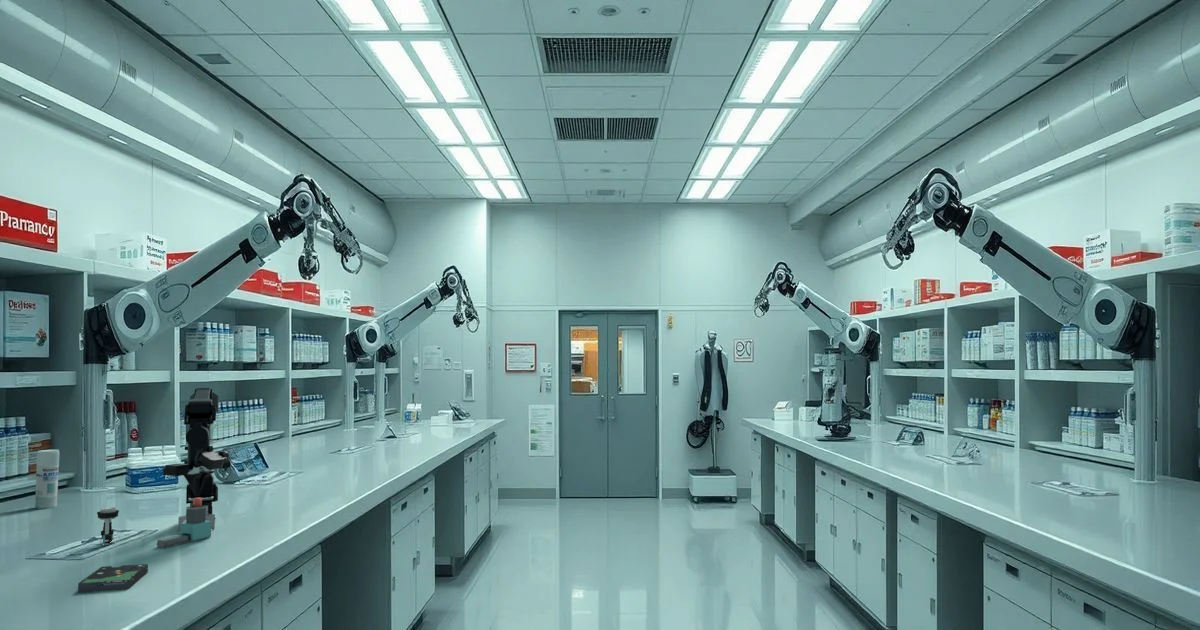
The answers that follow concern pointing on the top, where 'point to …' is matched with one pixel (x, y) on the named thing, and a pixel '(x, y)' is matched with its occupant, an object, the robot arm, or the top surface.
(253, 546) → the top surface
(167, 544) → the rail
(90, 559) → the top surface
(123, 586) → the disk drive
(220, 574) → the top surface
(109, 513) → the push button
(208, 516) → the grey piece
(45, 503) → the spray paint can
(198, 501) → the plunger
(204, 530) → the carriage
